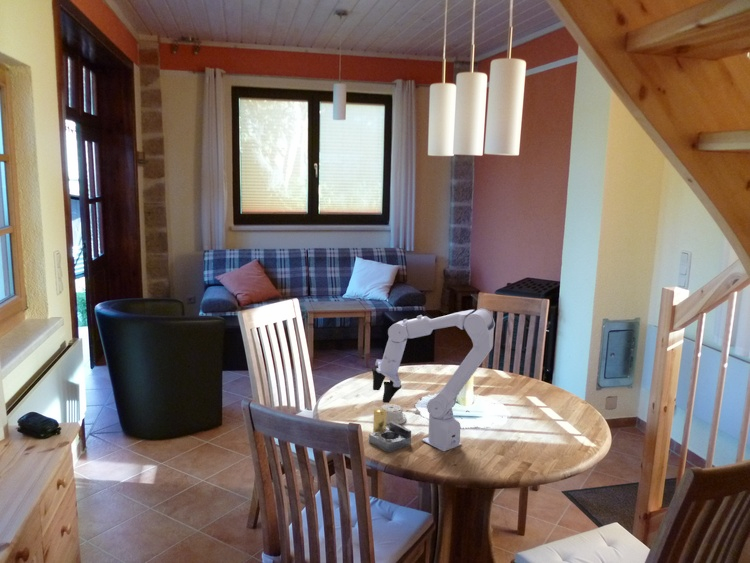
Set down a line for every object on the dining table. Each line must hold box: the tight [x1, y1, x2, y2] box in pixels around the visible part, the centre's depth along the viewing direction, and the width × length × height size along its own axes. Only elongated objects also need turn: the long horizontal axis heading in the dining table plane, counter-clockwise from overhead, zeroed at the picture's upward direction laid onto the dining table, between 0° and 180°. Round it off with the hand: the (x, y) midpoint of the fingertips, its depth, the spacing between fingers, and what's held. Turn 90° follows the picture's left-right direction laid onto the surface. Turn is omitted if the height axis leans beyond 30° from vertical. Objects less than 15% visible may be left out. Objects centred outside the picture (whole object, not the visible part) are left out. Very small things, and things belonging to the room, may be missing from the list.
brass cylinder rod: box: [372, 407, 387, 433], centre depth 190 cm, size 4×4×7 cm
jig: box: [368, 421, 412, 453], centre depth 181 cm, size 9×9×4 cm
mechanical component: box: [380, 403, 407, 426], centre depth 200 cm, size 10×4×10 cm
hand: (380, 395), depth 190 cm, fingers open, 7 cm apart
